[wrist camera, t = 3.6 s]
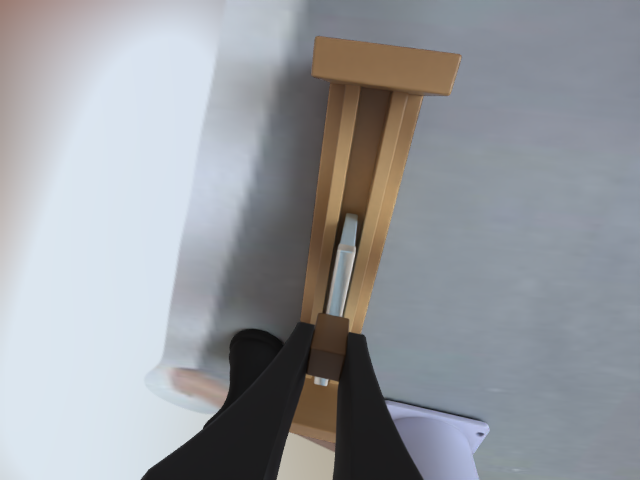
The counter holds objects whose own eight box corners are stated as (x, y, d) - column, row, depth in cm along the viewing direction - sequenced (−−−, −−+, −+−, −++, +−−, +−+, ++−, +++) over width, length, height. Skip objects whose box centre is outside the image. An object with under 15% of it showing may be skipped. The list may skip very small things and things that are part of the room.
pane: (340, 331, 18) (328, 429, 13) (319, 326, 18) (298, 421, 13) (366, 215, 14) (363, 285, 9) (338, 210, 14) (320, 277, 9)
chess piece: (261, 377, 23) (196, 548, 15) (220, 344, 22) (123, 507, 14) (298, 356, 22) (249, 536, 13) (255, 319, 21) (169, 487, 12)
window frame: (350, 365, 21) (344, 446, 16) (297, 354, 22) (276, 429, 17) (426, 70, 12) (463, 54, 8) (335, 57, 13) (314, 34, 8)
